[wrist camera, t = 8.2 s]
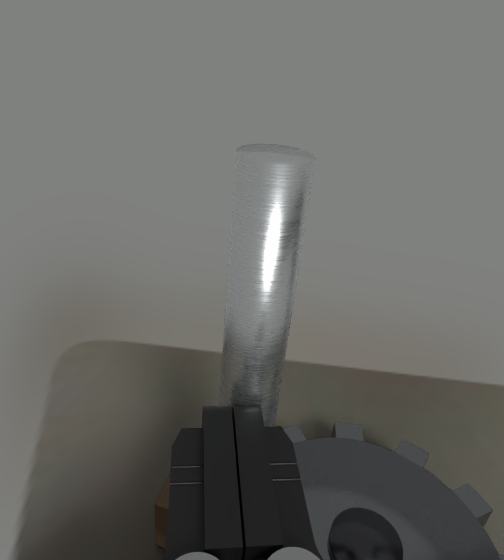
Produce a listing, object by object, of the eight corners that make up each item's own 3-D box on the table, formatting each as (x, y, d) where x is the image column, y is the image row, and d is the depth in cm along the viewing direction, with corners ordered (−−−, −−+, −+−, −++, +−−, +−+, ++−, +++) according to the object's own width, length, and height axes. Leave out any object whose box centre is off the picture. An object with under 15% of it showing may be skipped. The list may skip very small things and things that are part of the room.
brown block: (205, 507, 18) (207, 467, 17) (186, 556, 17) (186, 515, 15) (178, 498, 19) (178, 458, 17) (156, 545, 17) (154, 504, 16)
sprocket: (463, 467, 21) (621, 143, 13) (604, 860, 11) (1470, 462, 4) (221, 434, 21) (245, 104, 14) (152, 781, 12) (107, 293, 4)
